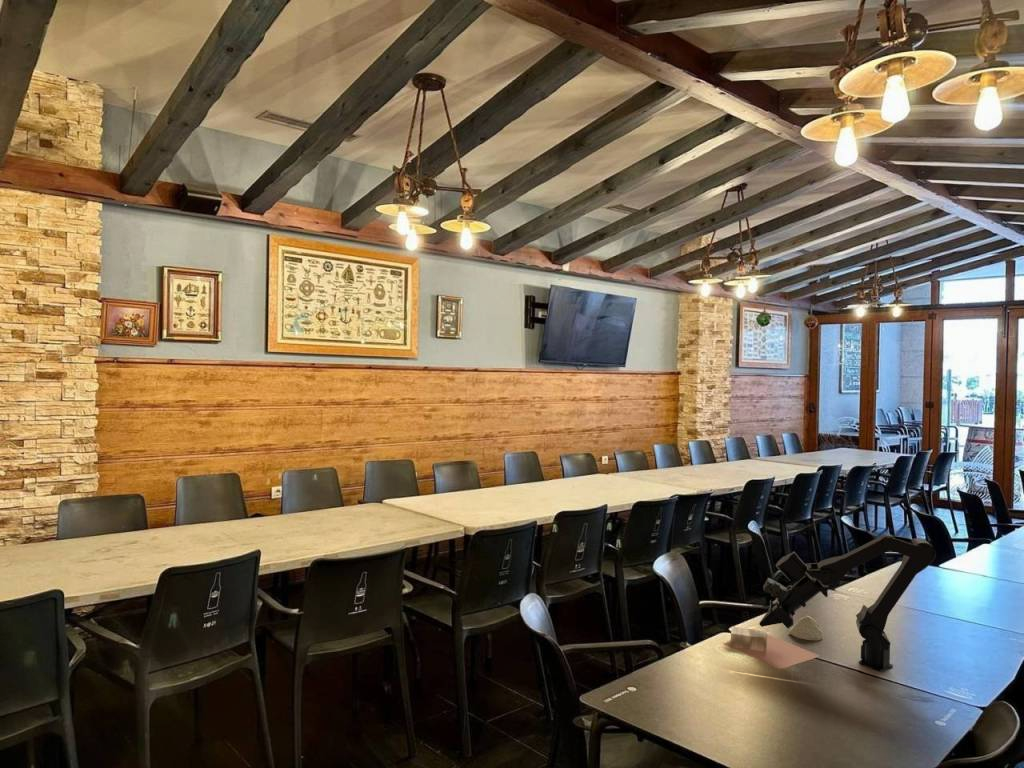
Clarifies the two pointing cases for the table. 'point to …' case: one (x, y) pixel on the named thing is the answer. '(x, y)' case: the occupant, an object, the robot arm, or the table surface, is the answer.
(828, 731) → the table surface
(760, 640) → the birch block
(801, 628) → the seashell
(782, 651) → the rubber mat
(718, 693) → the table surface
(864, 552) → the robot arm
